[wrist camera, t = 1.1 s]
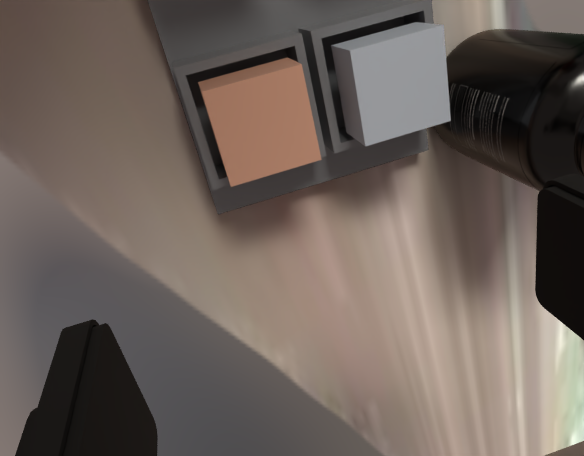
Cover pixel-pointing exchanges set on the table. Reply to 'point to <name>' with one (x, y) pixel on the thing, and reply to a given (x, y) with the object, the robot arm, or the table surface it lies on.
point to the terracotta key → (261, 120)
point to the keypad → (270, 47)
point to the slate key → (393, 82)
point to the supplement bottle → (518, 103)
